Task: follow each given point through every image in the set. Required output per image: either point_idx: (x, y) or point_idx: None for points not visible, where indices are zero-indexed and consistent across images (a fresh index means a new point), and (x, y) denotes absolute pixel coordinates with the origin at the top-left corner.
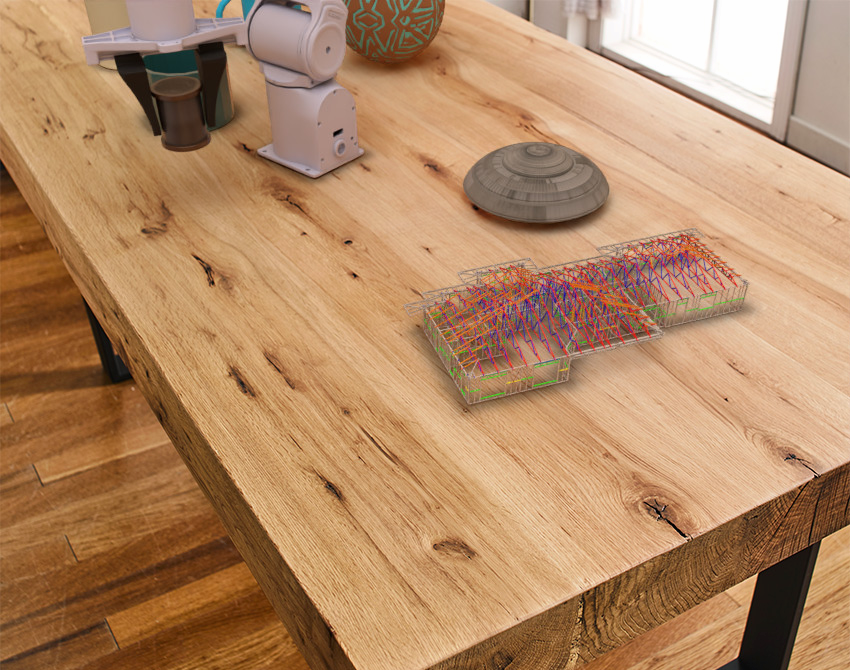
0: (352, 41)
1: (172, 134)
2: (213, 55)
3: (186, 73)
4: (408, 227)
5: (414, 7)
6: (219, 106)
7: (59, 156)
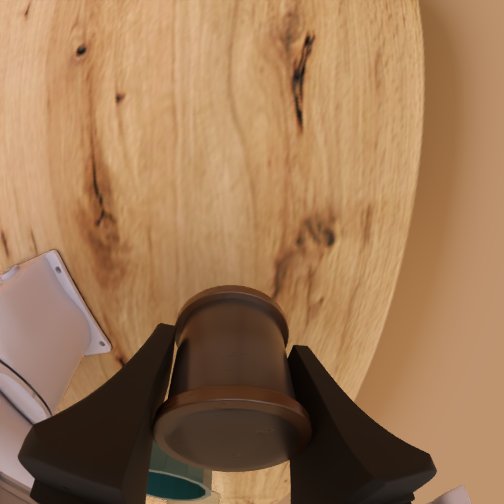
0: None
1: (275, 332)
2: (65, 482)
3: (162, 472)
4: (12, 67)
5: None
6: None
7: None
